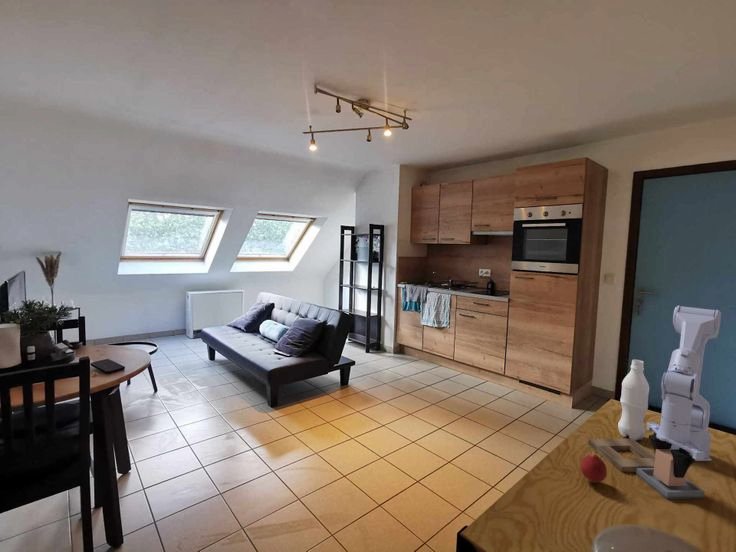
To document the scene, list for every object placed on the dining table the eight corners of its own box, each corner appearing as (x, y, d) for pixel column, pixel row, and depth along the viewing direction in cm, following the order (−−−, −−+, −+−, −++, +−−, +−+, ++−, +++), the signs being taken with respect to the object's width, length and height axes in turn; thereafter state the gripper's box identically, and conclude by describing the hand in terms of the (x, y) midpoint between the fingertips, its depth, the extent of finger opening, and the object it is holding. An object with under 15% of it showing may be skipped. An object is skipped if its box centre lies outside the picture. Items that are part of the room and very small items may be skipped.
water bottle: (639, 433, 122) (647, 359, 120) (648, 444, 116) (656, 366, 113) (614, 429, 125) (621, 356, 122) (621, 439, 118) (628, 363, 115)
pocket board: (631, 443, 116) (631, 438, 116) (670, 471, 102) (670, 465, 102) (588, 443, 115) (588, 439, 115) (621, 471, 101) (621, 466, 101)
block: (669, 474, 98) (672, 449, 97) (685, 485, 93) (688, 459, 93) (653, 474, 98) (655, 449, 97) (668, 486, 93) (670, 459, 92)
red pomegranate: (598, 476, 99) (600, 447, 98) (610, 490, 93) (612, 460, 93) (575, 474, 100) (577, 445, 99) (585, 488, 94) (588, 458, 93)
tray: (669, 473, 101) (670, 467, 101) (703, 498, 91) (704, 491, 91) (636, 474, 100) (636, 468, 100) (666, 499, 91) (667, 492, 90)
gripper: (637, 406, 101) (633, 454, 102) (686, 434, 86) (680, 489, 88) (662, 406, 101) (657, 453, 103) (715, 434, 87) (708, 489, 88)
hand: (670, 470), depth 95 cm, fingers closed on block, 4 cm apart
